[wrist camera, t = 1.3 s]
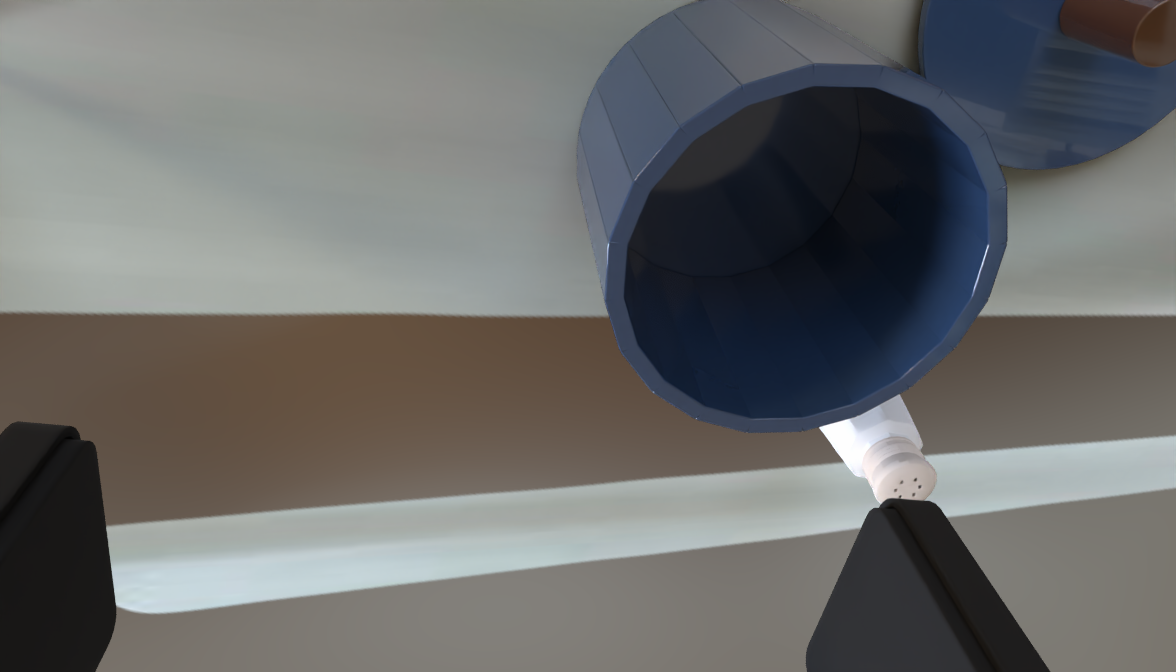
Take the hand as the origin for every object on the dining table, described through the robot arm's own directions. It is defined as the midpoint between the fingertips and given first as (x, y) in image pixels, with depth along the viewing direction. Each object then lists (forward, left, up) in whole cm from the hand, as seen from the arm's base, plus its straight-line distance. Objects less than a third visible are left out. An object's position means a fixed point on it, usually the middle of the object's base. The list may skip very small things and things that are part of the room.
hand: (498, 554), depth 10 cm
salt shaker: (+3, +24, -30) cm, 39 cm away
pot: (-2, +11, -30) cm, 32 cm away
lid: (-17, +19, -29) cm, 39 cm away
